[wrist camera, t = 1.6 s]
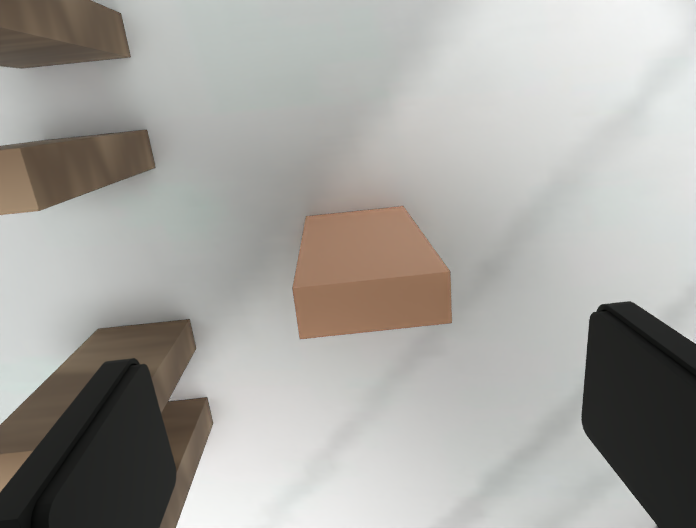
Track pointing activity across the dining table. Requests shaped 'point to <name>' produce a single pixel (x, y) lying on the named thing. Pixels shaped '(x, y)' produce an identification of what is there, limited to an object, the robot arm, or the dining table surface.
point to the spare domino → (368, 275)
